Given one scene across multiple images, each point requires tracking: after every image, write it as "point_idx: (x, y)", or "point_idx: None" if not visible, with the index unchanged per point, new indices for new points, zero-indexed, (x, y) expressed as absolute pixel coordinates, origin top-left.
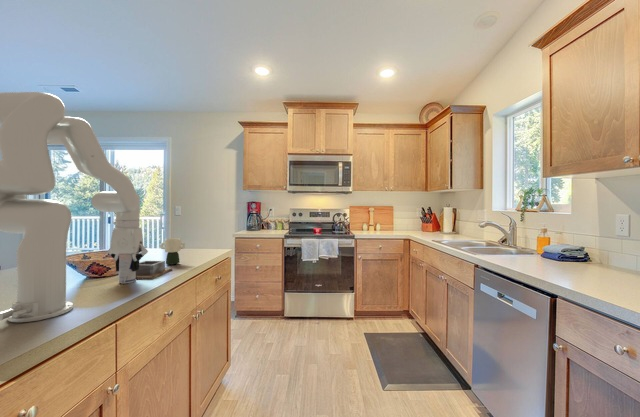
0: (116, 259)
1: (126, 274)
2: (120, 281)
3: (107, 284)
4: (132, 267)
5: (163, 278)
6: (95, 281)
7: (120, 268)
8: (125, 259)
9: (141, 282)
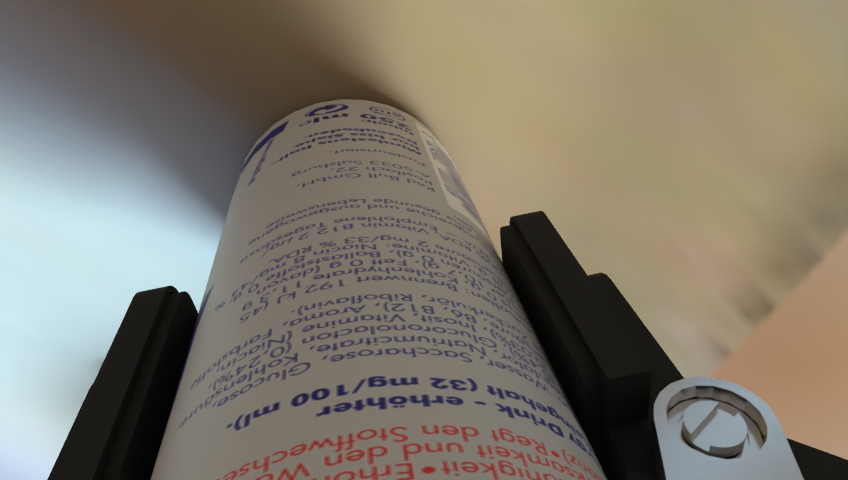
0: (688, 434)
1: (261, 192)
2: (370, 109)
3: (551, 23)
4: (130, 343)
5: (21, 444)
6: (832, 123)
7: (402, 227)
8: (235, 473)
9: (114, 235)
